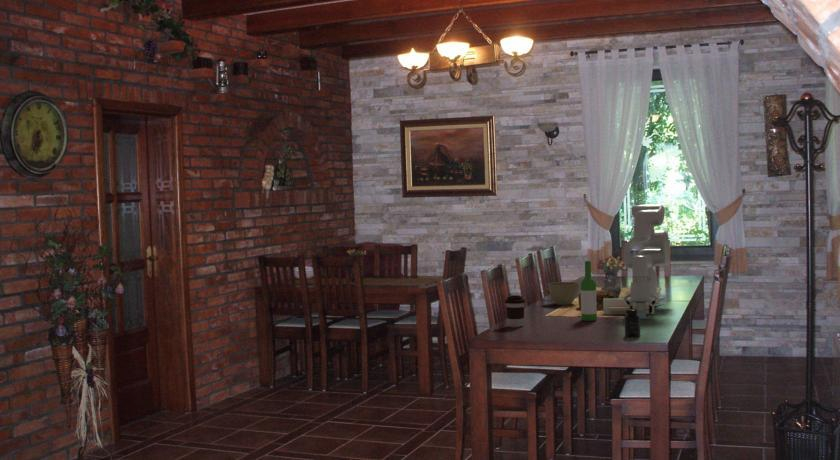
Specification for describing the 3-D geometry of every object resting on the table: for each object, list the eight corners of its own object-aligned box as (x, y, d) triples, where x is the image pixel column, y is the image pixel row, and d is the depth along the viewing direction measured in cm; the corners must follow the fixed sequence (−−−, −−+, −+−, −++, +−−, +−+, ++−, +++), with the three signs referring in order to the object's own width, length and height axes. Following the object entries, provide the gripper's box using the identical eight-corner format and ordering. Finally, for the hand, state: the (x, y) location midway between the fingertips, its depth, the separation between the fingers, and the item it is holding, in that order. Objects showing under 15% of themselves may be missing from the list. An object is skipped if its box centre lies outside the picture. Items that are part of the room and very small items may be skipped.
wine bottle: (580, 321, 423) (578, 261, 421) (582, 319, 430) (581, 260, 429) (595, 321, 420) (594, 261, 419) (598, 319, 427) (596, 260, 426)
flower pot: (584, 302, 489) (583, 282, 489) (572, 307, 474) (571, 285, 474) (555, 301, 499) (555, 281, 499) (543, 305, 484) (542, 284, 483)
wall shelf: (603, 312, 449) (603, 297, 449) (654, 312, 443) (653, 297, 443) (603, 315, 439) (602, 300, 439) (654, 315, 433) (654, 300, 432)
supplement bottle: (622, 335, 380) (622, 308, 379) (637, 334, 380) (636, 308, 380) (627, 337, 373) (627, 310, 373) (642, 336, 374) (642, 310, 373)
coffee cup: (502, 326, 416) (501, 295, 416) (519, 324, 420) (518, 294, 420) (511, 328, 407) (511, 297, 407) (529, 326, 411) (528, 296, 411)
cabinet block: (635, 316, 431) (635, 301, 431) (646, 316, 430) (645, 301, 430) (636, 319, 424) (635, 303, 424) (646, 319, 423) (645, 303, 423)
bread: (612, 306, 471) (611, 289, 471) (614, 309, 460) (614, 291, 460) (578, 307, 473) (577, 289, 472) (580, 310, 462) (579, 292, 462)
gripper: (657, 278, 428) (658, 312, 429) (622, 278, 433) (623, 312, 433) (658, 280, 421) (658, 314, 422) (622, 280, 425) (623, 314, 426)
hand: (640, 313), depth 428 cm, fingers open, 8 cm apart
